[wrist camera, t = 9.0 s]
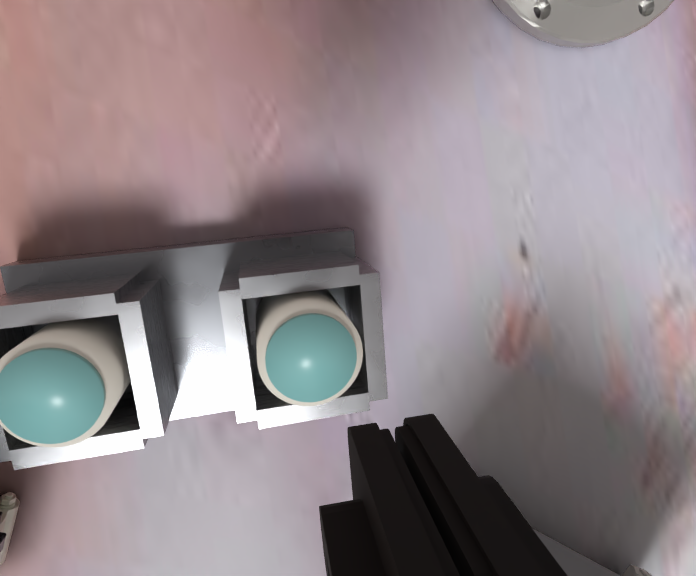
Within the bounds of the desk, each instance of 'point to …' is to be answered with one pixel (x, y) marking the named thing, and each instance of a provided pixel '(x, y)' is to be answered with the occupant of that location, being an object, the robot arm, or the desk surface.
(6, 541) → the pneumatic valve
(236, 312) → the mount
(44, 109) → the desk surface
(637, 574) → the electrical component
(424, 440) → the robot arm
